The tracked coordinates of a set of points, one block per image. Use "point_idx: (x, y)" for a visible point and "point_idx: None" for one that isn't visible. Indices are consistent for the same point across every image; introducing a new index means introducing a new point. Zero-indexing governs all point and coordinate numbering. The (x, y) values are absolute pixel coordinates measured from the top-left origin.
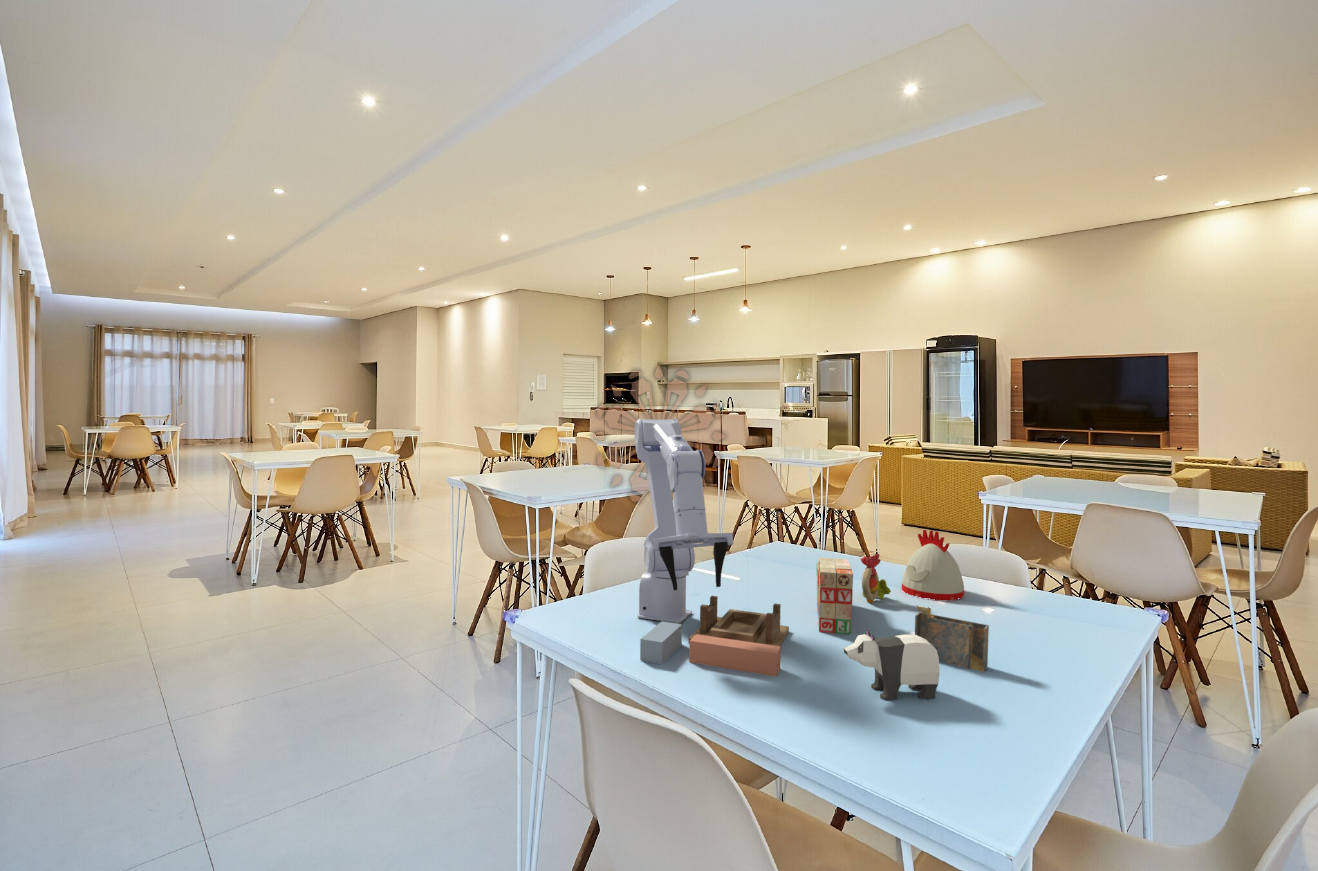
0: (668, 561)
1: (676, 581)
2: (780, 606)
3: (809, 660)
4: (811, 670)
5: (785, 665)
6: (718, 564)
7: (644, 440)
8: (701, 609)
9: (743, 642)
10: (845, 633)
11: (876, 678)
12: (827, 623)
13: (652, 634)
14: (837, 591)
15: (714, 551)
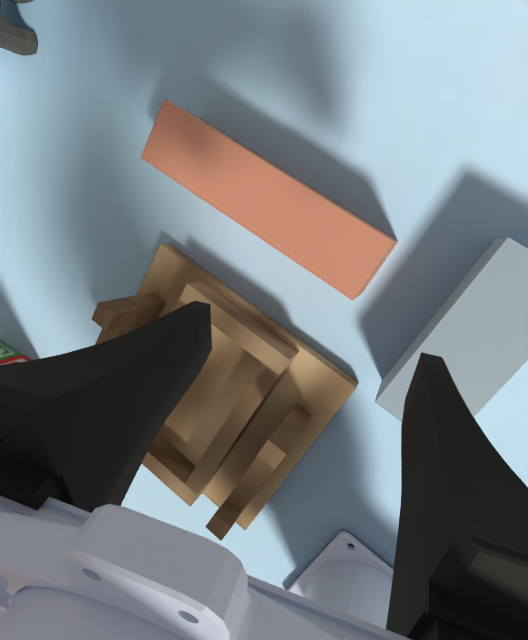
0: (496, 476)
1: (425, 372)
2: None
3: (105, 209)
4: (117, 149)
5: (160, 185)
6: (132, 344)
7: None
8: (286, 445)
9: (227, 202)
10: (5, 344)
11: (11, 30)
12: None
13: (523, 326)
14: None
15: (91, 445)
